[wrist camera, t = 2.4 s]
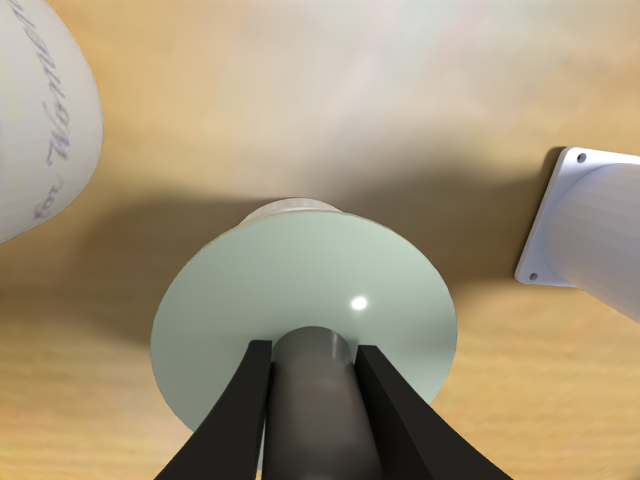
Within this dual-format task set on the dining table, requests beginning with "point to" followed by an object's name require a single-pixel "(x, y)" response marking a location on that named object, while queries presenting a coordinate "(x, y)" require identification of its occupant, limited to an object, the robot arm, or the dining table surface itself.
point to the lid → (304, 332)
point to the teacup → (43, 117)
